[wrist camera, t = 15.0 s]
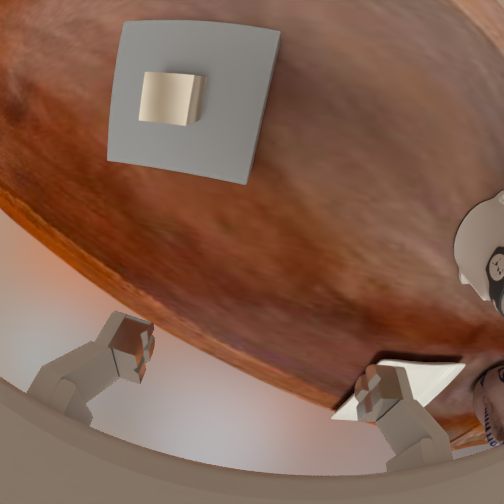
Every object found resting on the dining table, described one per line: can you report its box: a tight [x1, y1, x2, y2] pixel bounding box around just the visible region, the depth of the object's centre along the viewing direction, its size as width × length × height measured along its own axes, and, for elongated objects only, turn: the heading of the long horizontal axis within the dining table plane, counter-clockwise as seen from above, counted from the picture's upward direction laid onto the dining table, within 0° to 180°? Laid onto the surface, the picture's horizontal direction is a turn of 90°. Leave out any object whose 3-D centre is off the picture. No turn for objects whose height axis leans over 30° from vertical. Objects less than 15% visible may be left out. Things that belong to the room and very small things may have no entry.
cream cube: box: [139, 72, 208, 126], centre depth 26 cm, size 5×5×5 cm
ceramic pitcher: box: [473, 366, 504, 448], centre depth 49 cm, size 18×21×25 cm
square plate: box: [331, 359, 465, 420], centre depth 60 cm, size 27×27×4 cm
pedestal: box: [107, 20, 281, 185], centre depth 30 cm, size 18×18×6 cm
